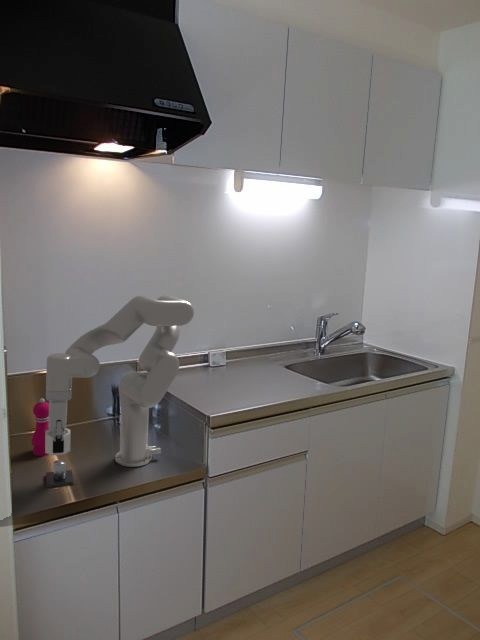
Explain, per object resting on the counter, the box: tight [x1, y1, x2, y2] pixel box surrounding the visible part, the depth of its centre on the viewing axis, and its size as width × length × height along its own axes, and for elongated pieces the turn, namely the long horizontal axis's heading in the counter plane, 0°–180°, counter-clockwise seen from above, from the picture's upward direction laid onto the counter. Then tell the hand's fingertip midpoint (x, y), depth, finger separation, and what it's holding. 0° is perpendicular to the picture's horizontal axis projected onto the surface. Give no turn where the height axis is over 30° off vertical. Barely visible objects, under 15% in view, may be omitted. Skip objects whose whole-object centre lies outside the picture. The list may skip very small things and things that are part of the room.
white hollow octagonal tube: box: [45, 427, 72, 456], centre depth 173 cm, size 7×7×6 cm
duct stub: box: [45, 459, 74, 488], centre depth 175 cm, size 8×8×6 cm
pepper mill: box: [30, 397, 49, 457], centre depth 192 cm, size 7×7×20 cm
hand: (57, 446), depth 173 cm, fingers closed on white hollow octagonal tube, 7 cm apart
